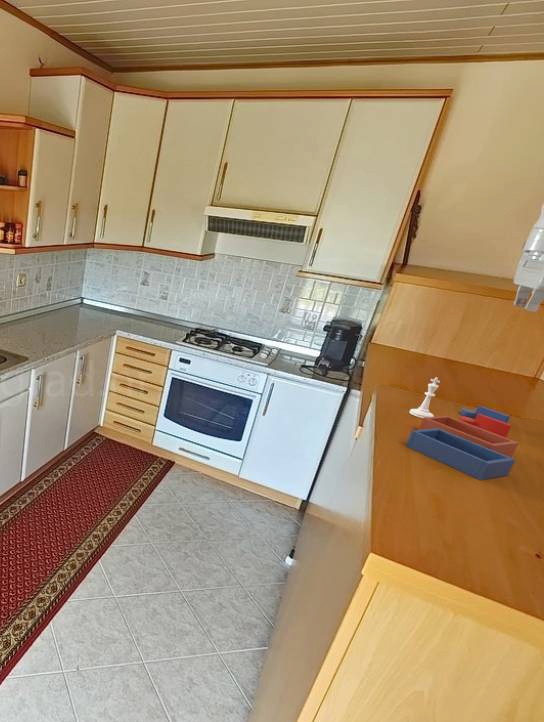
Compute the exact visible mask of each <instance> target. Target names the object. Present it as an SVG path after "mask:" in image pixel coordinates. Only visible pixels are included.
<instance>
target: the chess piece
mask: <svg viewBox="0 0 544 722" xmlns="http://www.w3.org/2000/svg"><path fill="white" fill-rule="evenodd" d="M430 381H431V382H432V383H428V384H427V391H425V392H424V395H426V396H425V398H424V399H423V402H422V403H421V405H420V406H419V407H417V408H410V410H409V411H408V412H409V414H410V415H412V416H415V417H417V418H420V419H423V418H424V417H435V415H434V414H433V413H431V412H430V410H429V409H430V408H429V407H430V403H431V399H432V398H433V397H436V394H435V391H437V390H438V389H439V388H440V387H439V385H438V384H437V383H439V384H440V383H441V380H439V377H437V376H436V377H434V378H430Z"/></svg>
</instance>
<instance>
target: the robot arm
mask: <svg viewBox="0 0 544 722" xmlns="http://www.w3.org/2000/svg"><path fill="white" fill-rule="evenodd" d="M521 252H523V253H522V255H521V257H520V259H519V262H518V266H517V268H516V271H515V274H514V278H513V284H514V285H518V288H517V292H516V296H515V299H514V302H513V306H514V307H518V308H524V310H525V311H527V312H532V313H535V312H538V310H539V308H540V306H541V304H542V303H543V302H544V202H543V203H542V205H541V208H540V215H539V217H538V219H537V221H536V222H535V223H534V224H533V226H532V228H531V230H530V232H529V235H528V237H527V239H526V240H525V241H524V243H523V244H522V246H521ZM530 294H531V296H530ZM529 297H530V298H529Z"/></svg>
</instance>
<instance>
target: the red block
mask: <svg viewBox="0 0 544 722" xmlns="http://www.w3.org/2000/svg"><path fill="white" fill-rule="evenodd" d="M458 420H460V421H462V422H465V423H468V424H470V425H473V426H476V427H478V428H481V429H484V430H486V431H489V432H492V433H494V434H497V435H500V436H502V437H505V438H507V436H508V435H509V433H510V430H511V428H512V424H510V423H504V422H501V421H499V420H496V419H493V418H490V417H487V416H484V415H482V414H477V417H476V418H471V417H467V416H464V415H462V416H460V417H459V418H458Z"/></svg>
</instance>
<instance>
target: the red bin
mask: <svg viewBox="0 0 544 722" xmlns="http://www.w3.org/2000/svg"><path fill="white" fill-rule="evenodd" d="M435 428H438V429H441V430H443V431H446V432H448V433H451V434H453V435H456V436H458V437H461V438H463V439H466V440H468V441H471V442H473V443H476V444H478V445H481V446H483V447H486V448H488V449H491V450H493V451H495V452H498V453H500V454H503V455H505V456H508V457H510V458H513V456H514V453H515V452H516V449H517V448H518V446H519V442H518V441H516V440H513V439H510V438H507V437H506V438H505V437H502V436H500V435H497V434H494V433H492V432H489V431H486V430H484V429H481V428H478V427H476V426H473V425H470V424H468V423H465V422H462V421H460V420H459V419H457V418H454V417H452V416H449V415H438V416H436V415H435V416H434V417H424V418H421V422H420V424H419V426H418V429H417V430H425V429H435Z"/></svg>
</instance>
